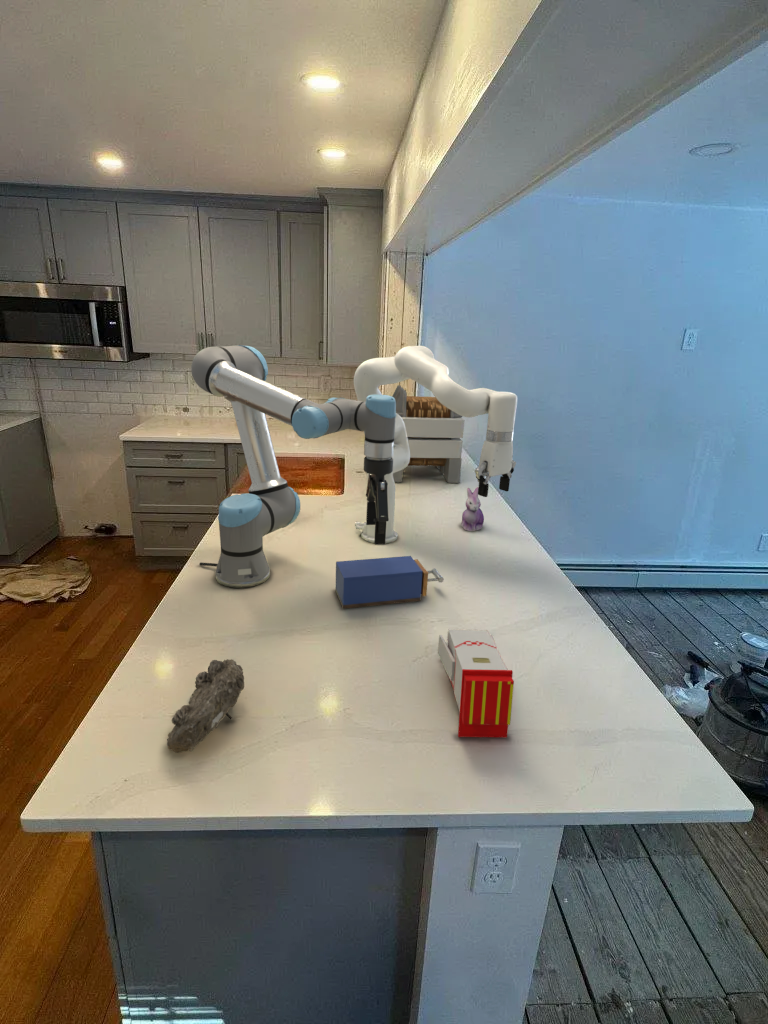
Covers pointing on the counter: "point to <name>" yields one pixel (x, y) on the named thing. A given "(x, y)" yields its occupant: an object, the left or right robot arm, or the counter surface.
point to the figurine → (472, 512)
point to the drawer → (425, 577)
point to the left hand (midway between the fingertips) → (375, 533)
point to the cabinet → (378, 581)
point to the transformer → (431, 434)
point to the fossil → (206, 705)
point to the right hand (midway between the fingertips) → (493, 493)
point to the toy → (478, 682)
